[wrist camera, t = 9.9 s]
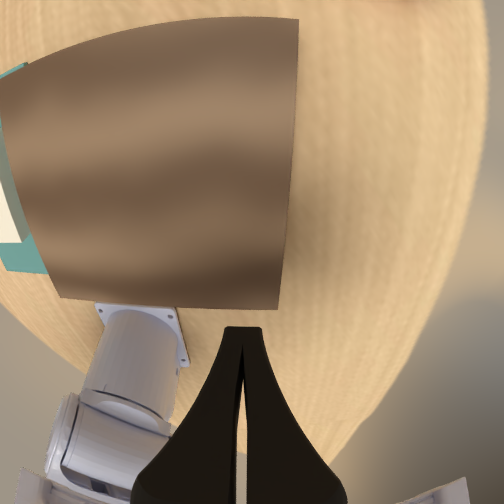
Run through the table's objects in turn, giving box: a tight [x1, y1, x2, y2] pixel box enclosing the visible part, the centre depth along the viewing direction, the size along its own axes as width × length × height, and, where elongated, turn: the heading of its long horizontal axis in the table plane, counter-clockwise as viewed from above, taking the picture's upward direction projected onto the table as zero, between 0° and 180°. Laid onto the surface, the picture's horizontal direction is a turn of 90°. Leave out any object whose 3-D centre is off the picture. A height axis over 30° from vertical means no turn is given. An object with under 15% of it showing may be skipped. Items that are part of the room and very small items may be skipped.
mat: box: [0, 62, 48, 274], centre depth 16 cm, size 18×10×1 cm, turn 179°
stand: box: [0, 17, 299, 310], centre depth 15 cm, size 16×16×4 cm
